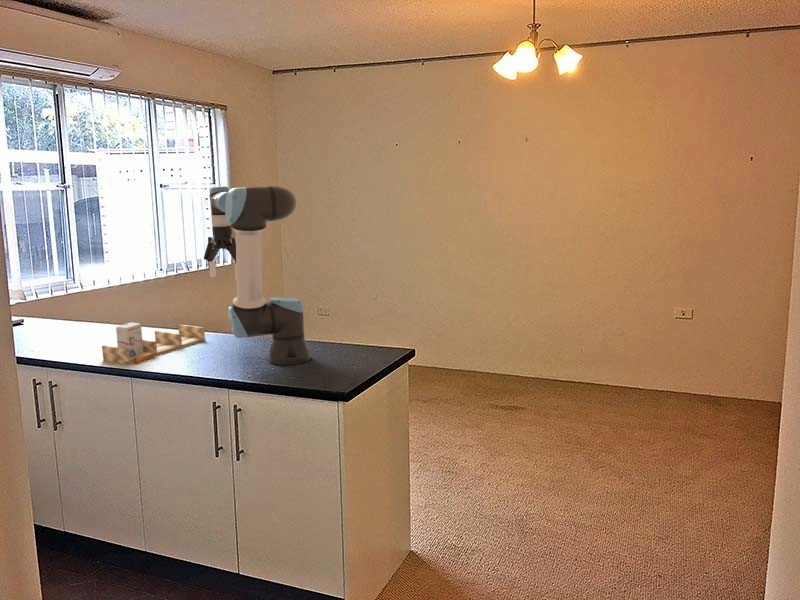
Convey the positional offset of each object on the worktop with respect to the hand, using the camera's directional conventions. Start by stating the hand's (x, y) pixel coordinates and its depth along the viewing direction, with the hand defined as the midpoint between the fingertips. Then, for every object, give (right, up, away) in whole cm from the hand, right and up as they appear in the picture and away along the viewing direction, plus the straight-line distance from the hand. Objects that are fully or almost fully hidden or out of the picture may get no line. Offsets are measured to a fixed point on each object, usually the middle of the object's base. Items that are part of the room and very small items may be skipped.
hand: (225, 277), depth 274 cm
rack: (-26, -29, -6) cm, 39 cm away
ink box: (-32, -30, -17) cm, 47 cm away
